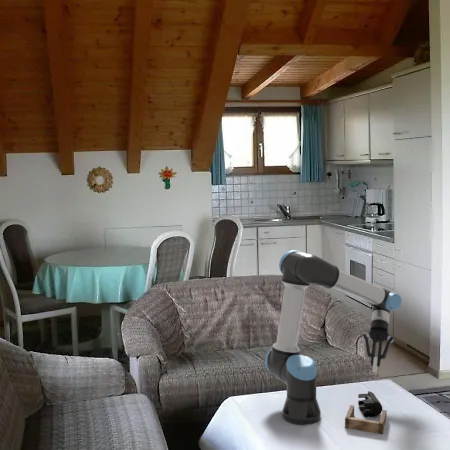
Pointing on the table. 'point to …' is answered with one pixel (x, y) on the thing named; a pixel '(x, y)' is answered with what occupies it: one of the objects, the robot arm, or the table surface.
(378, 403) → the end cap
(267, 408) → the table surface
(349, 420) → the corral
